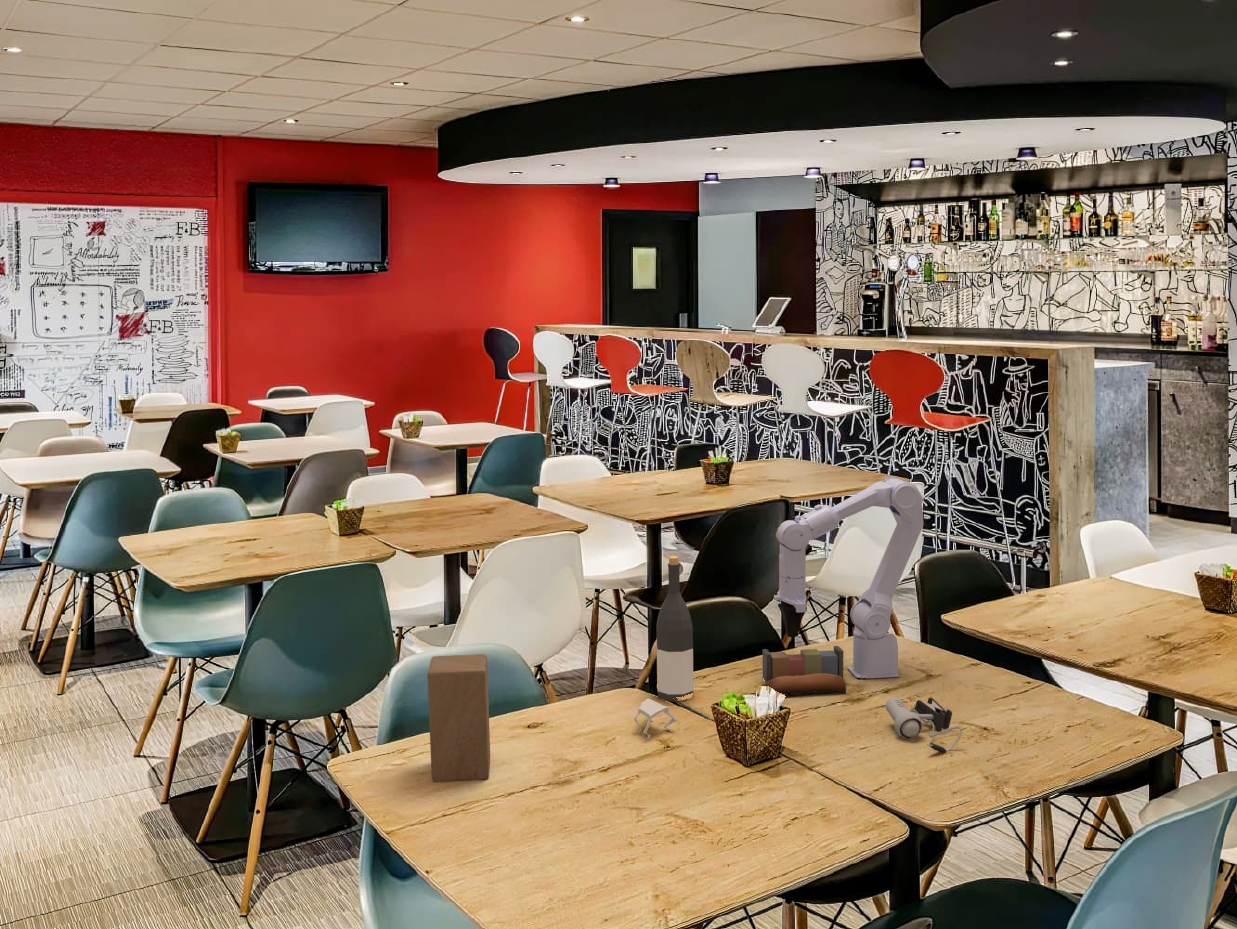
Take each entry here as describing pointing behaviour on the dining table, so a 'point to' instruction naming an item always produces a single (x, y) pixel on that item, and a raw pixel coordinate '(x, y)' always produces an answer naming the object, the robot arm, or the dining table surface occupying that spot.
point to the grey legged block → (653, 713)
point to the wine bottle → (674, 641)
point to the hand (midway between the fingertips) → (792, 636)
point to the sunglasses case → (807, 683)
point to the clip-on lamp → (911, 722)
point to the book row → (802, 663)
